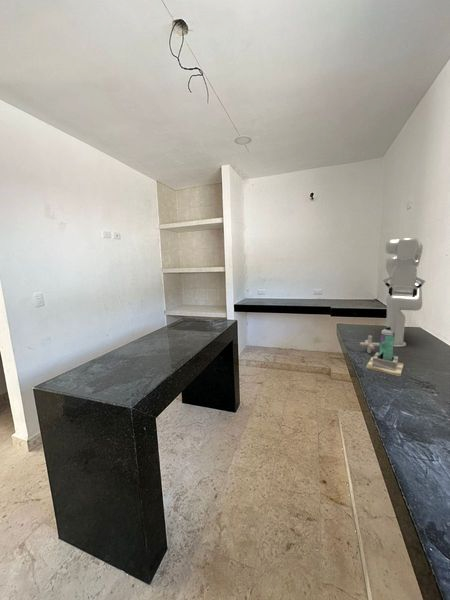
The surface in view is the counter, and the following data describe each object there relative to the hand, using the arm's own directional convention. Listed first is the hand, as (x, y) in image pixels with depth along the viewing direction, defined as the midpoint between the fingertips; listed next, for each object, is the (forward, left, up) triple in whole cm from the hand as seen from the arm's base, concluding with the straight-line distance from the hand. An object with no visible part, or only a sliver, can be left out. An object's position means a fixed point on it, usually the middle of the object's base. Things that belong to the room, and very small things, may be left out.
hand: (401, 296), depth 126 cm
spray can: (+16, -3, -33) cm, 37 cm away
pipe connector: (0, -13, -34) cm, 37 cm away
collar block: (+16, -3, -34) cm, 38 cm away
